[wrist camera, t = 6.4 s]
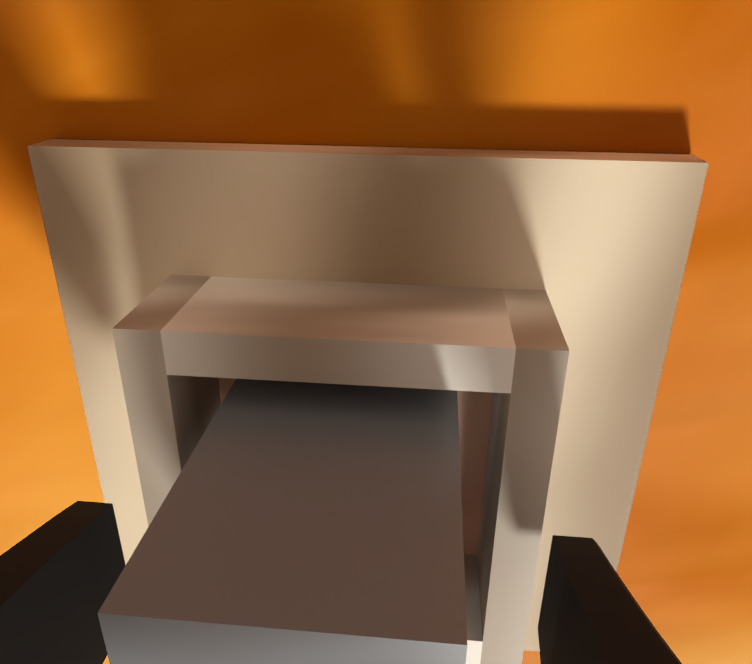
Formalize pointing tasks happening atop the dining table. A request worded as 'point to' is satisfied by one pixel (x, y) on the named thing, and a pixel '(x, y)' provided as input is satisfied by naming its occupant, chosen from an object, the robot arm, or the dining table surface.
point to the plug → (304, 535)
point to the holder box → (382, 318)
